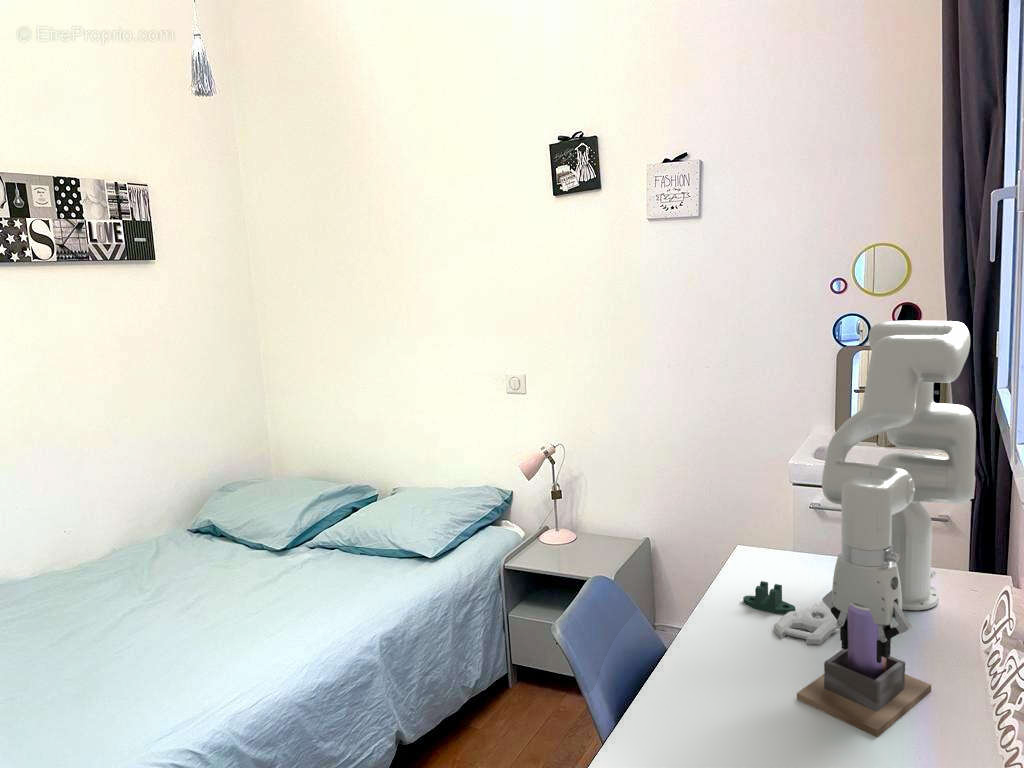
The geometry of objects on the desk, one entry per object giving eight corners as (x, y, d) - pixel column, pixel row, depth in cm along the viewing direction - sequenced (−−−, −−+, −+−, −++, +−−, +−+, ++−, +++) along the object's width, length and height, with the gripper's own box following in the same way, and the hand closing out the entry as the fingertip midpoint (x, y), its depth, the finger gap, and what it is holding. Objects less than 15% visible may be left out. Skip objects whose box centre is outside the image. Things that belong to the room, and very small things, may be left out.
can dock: (852, 659, 142) (852, 628, 141) (931, 690, 131) (932, 657, 130) (796, 699, 132) (796, 666, 130) (877, 737, 120) (877, 701, 119)
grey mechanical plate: (810, 586, 164) (857, 600, 157) (810, 601, 165) (857, 615, 158) (768, 624, 152) (818, 640, 145) (769, 639, 153) (818, 657, 146)
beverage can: (869, 696, 127) (868, 612, 124) (840, 679, 132) (839, 598, 130) (894, 685, 129) (894, 602, 127) (865, 669, 135) (864, 589, 132)
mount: (798, 609, 162) (798, 587, 161) (791, 618, 159) (791, 595, 158) (747, 598, 169) (747, 576, 168) (740, 606, 165) (739, 584, 164)
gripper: (930, 559, 122) (927, 664, 126) (829, 532, 136) (829, 627, 139) (907, 574, 118) (904, 682, 121) (805, 545, 131) (806, 642, 135)
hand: (864, 651), depth 130 cm, fingers closed on beverage can, 5 cm apart
